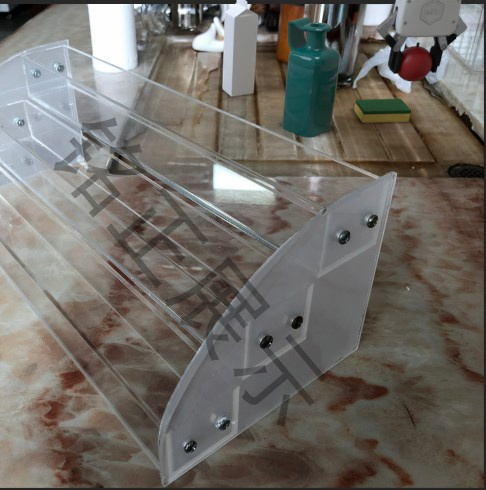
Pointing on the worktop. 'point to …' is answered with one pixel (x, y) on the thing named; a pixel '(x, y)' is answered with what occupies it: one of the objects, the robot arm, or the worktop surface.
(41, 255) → the worktop surface
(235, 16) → the milk
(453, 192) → the worktop surface
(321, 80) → the pitcher
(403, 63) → the apple
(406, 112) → the sponge
